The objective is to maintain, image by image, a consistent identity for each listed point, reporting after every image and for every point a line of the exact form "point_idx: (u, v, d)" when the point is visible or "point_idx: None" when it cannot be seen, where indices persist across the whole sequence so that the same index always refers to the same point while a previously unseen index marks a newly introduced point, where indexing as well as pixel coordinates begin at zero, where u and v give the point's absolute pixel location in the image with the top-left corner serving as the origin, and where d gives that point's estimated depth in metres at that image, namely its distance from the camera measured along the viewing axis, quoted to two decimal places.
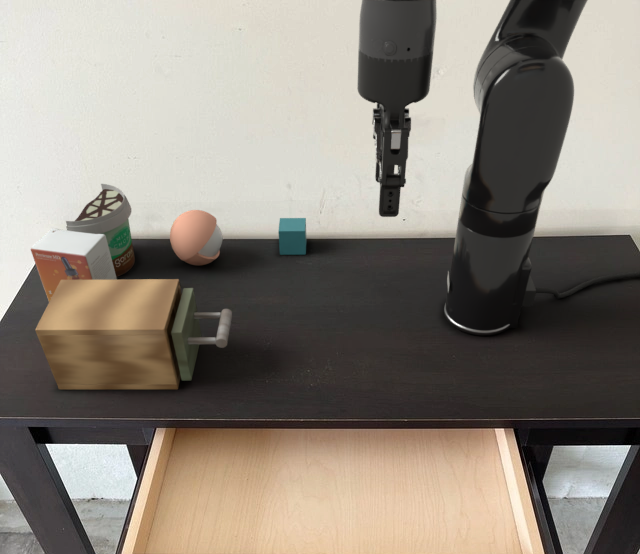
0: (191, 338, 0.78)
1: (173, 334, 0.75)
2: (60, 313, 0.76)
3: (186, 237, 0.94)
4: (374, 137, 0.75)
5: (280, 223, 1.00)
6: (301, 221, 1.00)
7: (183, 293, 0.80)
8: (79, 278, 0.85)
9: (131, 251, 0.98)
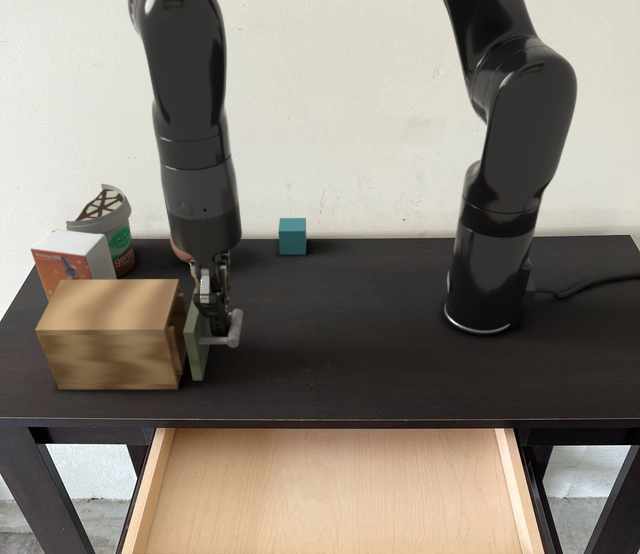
0: (203, 338, 0.78)
1: (185, 334, 0.75)
2: (60, 313, 0.76)
3: None
4: None
5: (280, 223, 1.00)
6: (301, 221, 1.00)
7: None
8: (79, 278, 0.85)
9: (131, 251, 0.98)
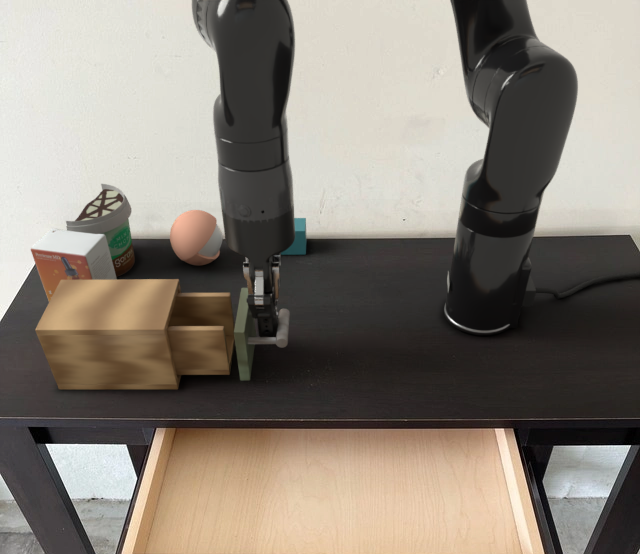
0: (251, 338, 0.78)
1: (236, 334, 0.75)
2: (60, 313, 0.76)
3: (186, 237, 0.94)
4: None
5: None
6: (301, 221, 1.00)
7: (241, 293, 0.80)
8: (79, 278, 0.85)
9: (131, 251, 0.98)
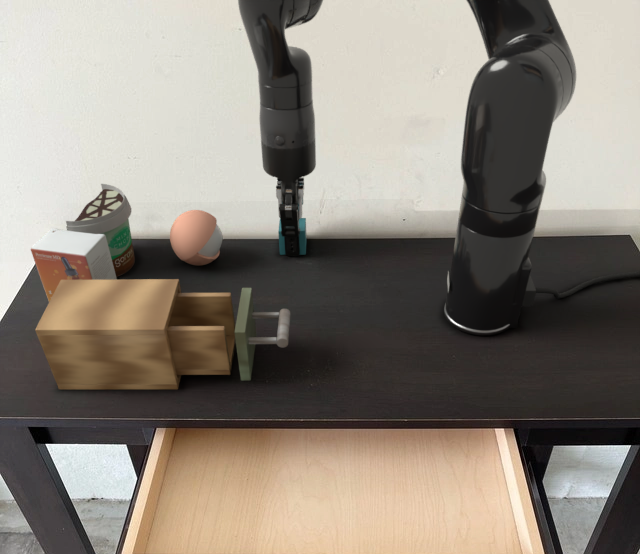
0: (252, 338, 0.78)
1: (236, 334, 0.75)
2: (60, 313, 0.76)
3: (186, 237, 0.94)
4: (281, 203, 0.99)
5: (280, 223, 1.00)
6: (301, 221, 1.00)
7: (242, 293, 0.80)
8: (79, 278, 0.85)
9: (131, 251, 0.98)
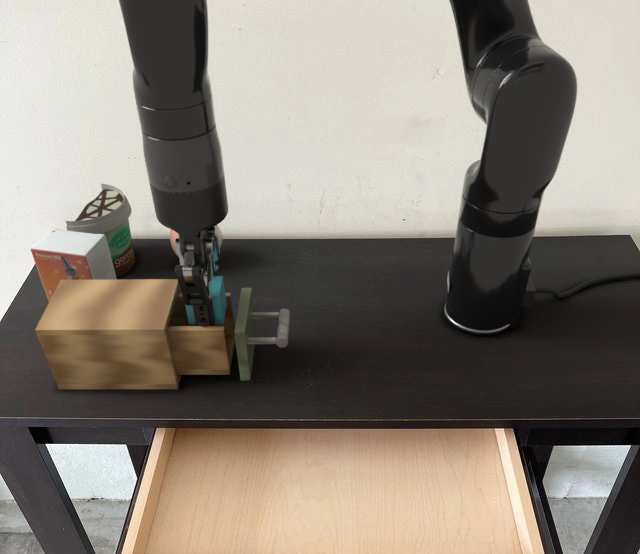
0: (252, 338, 0.78)
1: (236, 334, 0.75)
2: (60, 313, 0.76)
3: None
4: None
5: None
6: (216, 280, 0.76)
7: (242, 293, 0.80)
8: (79, 278, 0.85)
9: (131, 251, 0.98)
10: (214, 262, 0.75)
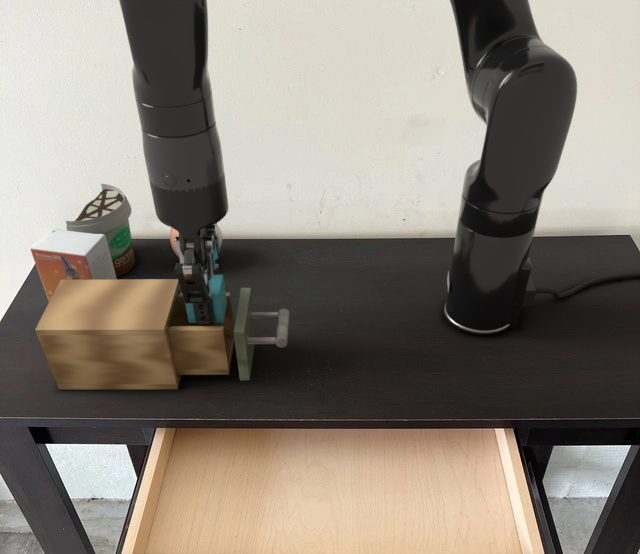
0: (251, 338, 0.78)
1: (235, 334, 0.75)
2: (60, 313, 0.76)
3: None
4: None
5: None
6: (216, 279, 0.76)
7: (241, 293, 0.80)
8: (79, 278, 0.85)
9: (131, 251, 0.98)
10: (214, 260, 0.75)
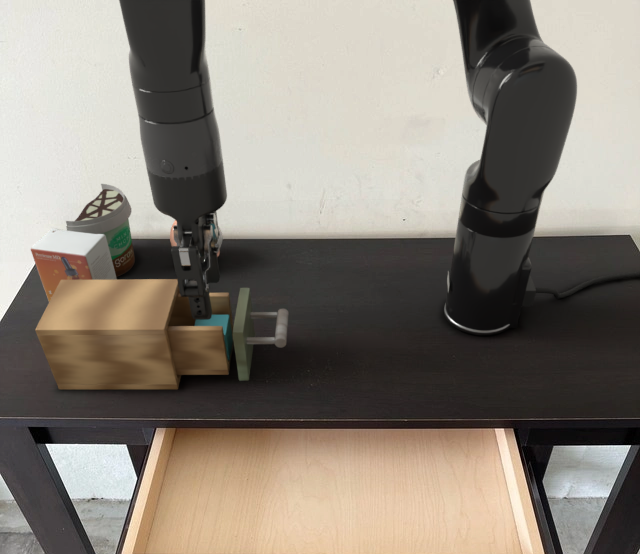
0: (250, 338, 0.78)
1: (234, 334, 0.75)
2: (60, 313, 0.76)
3: None
4: None
5: (196, 323, 0.79)
6: (223, 319, 0.80)
7: (240, 293, 0.80)
8: (79, 278, 0.85)
9: (131, 251, 0.98)
10: None
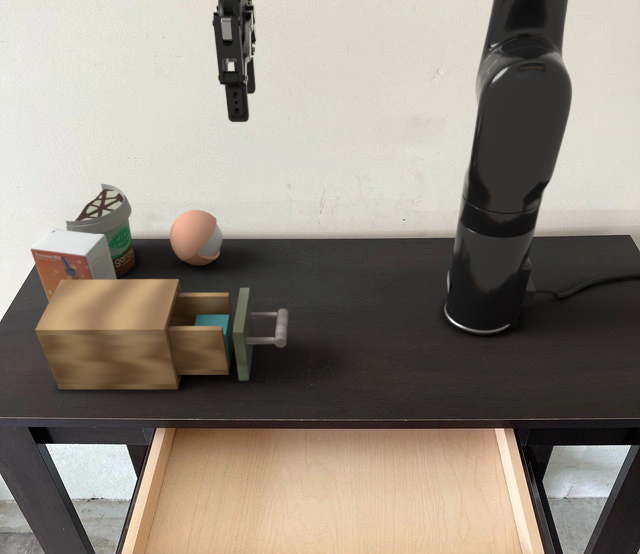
0: (250, 338, 0.78)
1: (234, 334, 0.75)
2: (60, 313, 0.76)
3: (186, 237, 0.94)
4: None
5: (196, 323, 0.79)
6: (223, 319, 0.80)
7: (240, 293, 0.80)
8: (79, 278, 0.85)
9: (131, 251, 0.98)
10: None
